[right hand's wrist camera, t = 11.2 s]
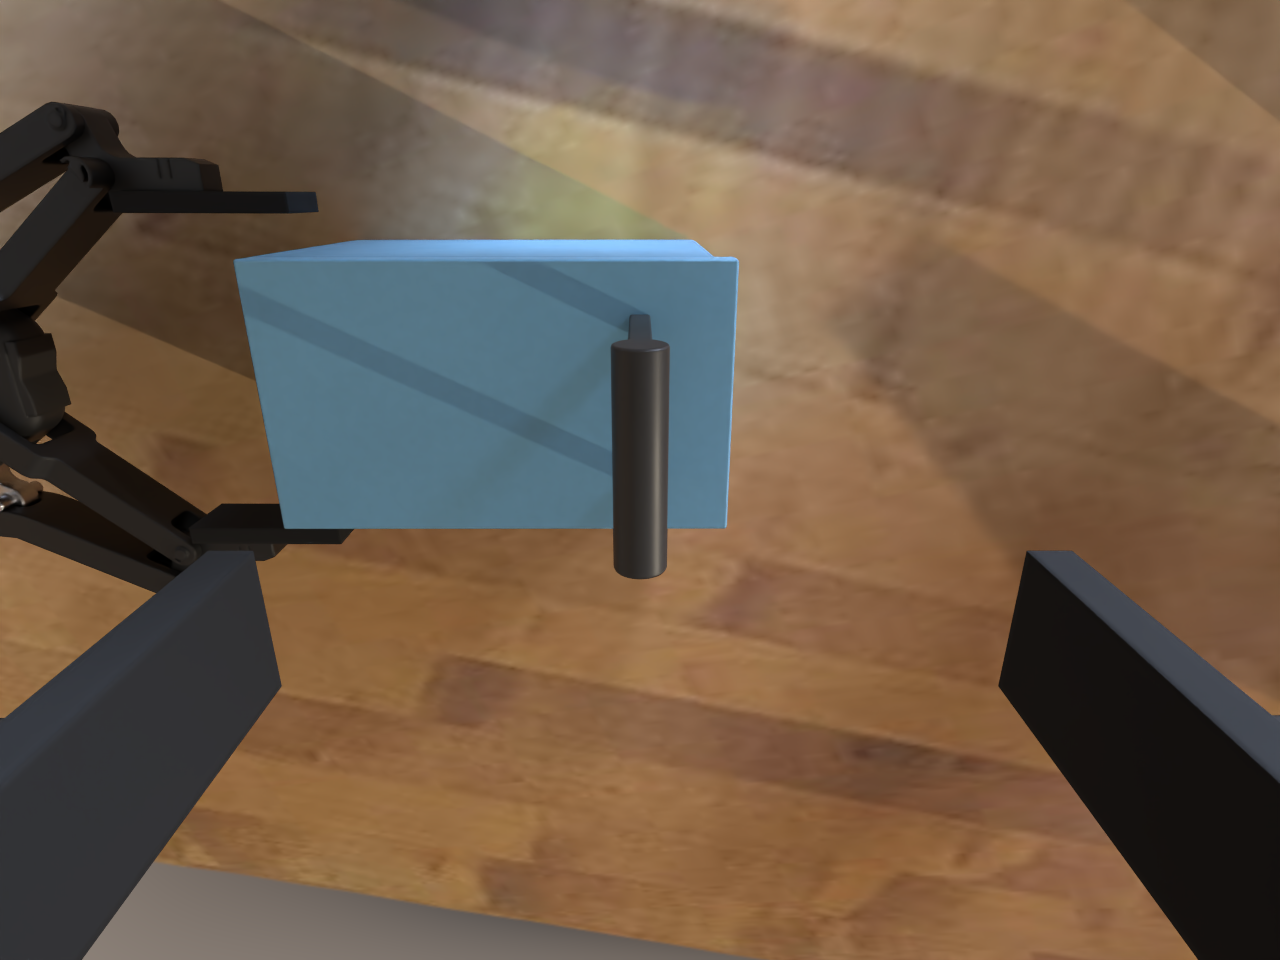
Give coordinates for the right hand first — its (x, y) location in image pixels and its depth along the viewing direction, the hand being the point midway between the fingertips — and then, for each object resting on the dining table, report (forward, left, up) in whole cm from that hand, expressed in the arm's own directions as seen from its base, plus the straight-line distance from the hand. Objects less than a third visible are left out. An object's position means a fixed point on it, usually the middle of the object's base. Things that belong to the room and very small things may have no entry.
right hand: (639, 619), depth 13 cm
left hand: (+7, -11, -19) cm, 23 cm away
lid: (+3, -4, -15) cm, 16 cm away
